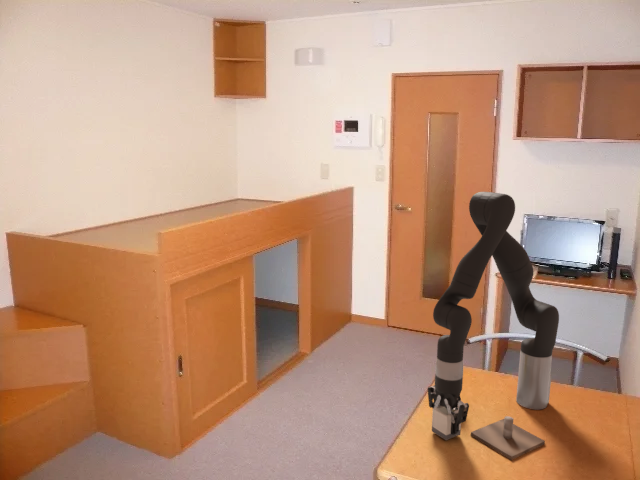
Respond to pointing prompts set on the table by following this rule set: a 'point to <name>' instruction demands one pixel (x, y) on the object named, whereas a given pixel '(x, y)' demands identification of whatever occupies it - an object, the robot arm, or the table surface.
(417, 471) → the table surface
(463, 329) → the robot arm
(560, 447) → the table surface
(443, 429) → the sleeve
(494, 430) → the pin plate
